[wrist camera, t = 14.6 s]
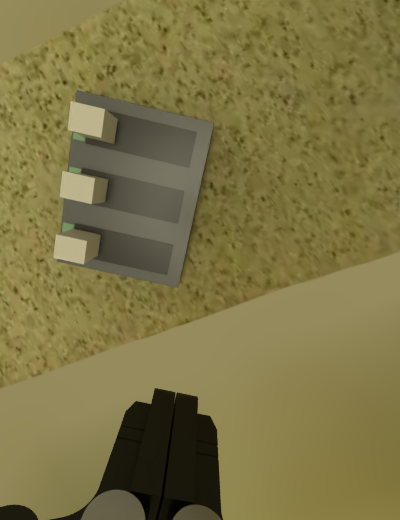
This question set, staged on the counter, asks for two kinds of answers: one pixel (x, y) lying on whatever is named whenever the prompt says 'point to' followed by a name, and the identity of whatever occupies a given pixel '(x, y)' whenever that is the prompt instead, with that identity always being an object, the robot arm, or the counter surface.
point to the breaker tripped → (83, 187)
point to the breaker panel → (140, 189)
